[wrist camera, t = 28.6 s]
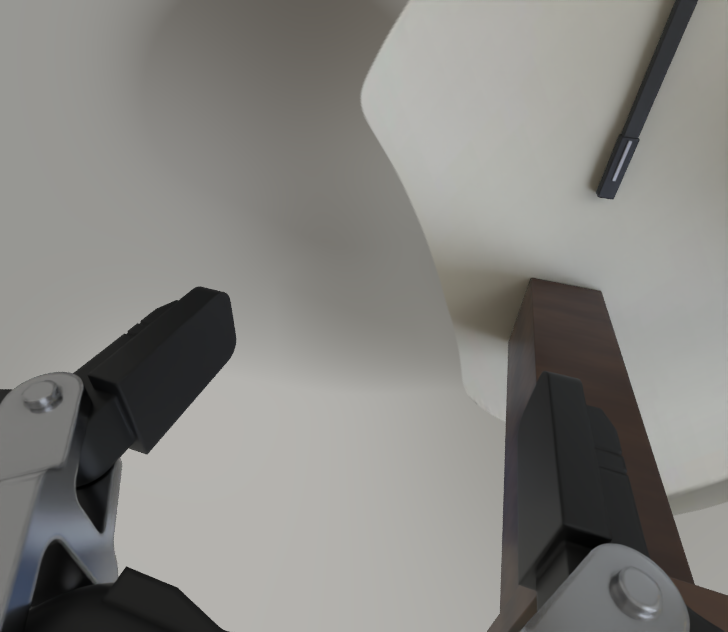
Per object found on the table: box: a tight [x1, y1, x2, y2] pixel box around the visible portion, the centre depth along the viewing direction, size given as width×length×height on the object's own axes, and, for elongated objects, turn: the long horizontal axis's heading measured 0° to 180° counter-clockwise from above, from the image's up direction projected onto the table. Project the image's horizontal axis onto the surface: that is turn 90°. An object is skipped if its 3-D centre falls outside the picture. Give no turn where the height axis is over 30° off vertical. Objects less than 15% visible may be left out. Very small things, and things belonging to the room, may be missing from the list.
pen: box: [596, 0, 698, 199], centre depth 30 cm, size 21×1×2 cm, turn 176°
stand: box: [487, 278, 728, 632], centre depth 32 cm, size 15×8×32 cm, turn 176°
